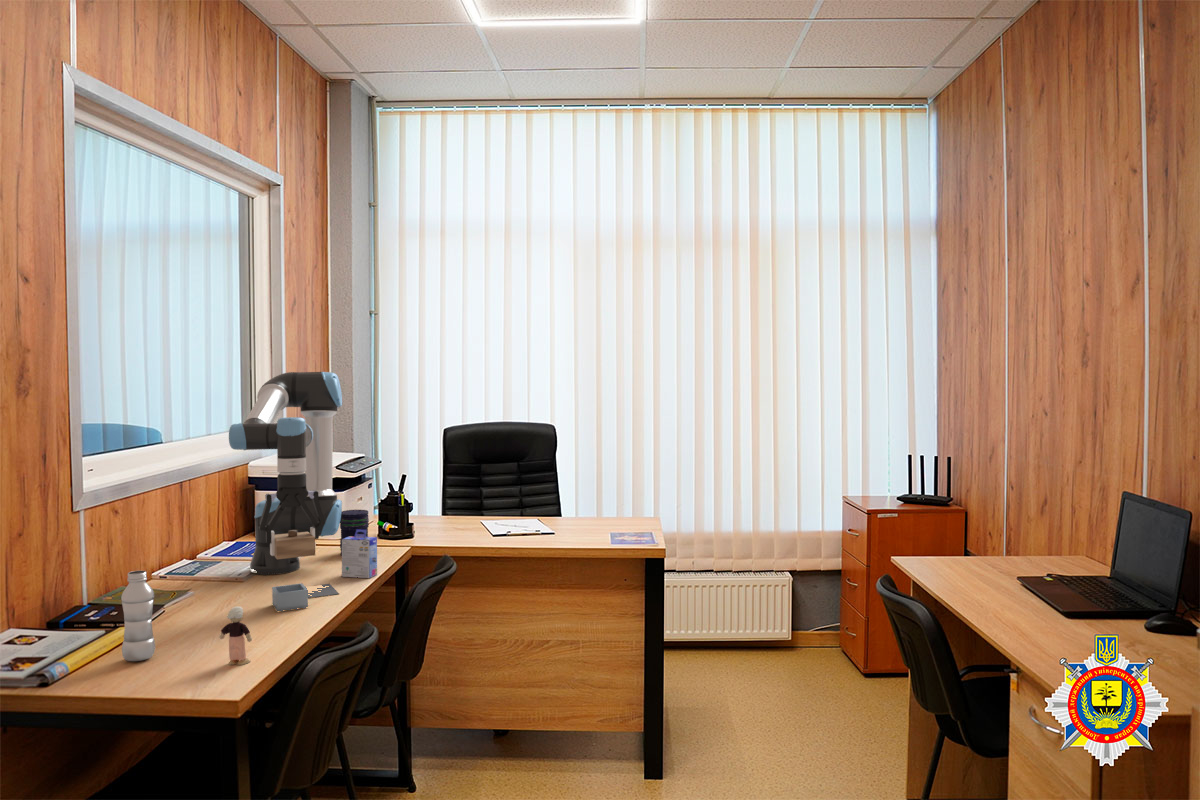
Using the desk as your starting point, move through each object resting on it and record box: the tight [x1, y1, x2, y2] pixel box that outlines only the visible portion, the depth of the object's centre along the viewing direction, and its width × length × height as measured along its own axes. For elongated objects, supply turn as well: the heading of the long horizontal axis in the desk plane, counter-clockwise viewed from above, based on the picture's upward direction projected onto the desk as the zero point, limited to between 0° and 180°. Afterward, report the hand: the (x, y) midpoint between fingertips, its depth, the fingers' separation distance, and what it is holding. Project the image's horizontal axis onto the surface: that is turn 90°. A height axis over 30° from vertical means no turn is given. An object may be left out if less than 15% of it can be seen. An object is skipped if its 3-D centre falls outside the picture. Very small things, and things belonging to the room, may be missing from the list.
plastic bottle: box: [120, 570, 156, 662], centre depth 188 cm, size 6×7×20 cm
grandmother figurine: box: [218, 606, 253, 666], centre depth 186 cm, size 8×4×13 cm, turn 92°
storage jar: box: [339, 509, 370, 556], centre depth 294 cm, size 10×10×15 cm
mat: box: [308, 582, 340, 599], centre depth 245 cm, size 13×13×1 cm
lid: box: [274, 530, 316, 559], centre depth 231 cm, size 10×10×6 cm
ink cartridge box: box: [341, 529, 378, 579], centre depth 263 cm, size 10×6×14 cm, turn 78°
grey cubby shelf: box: [271, 582, 309, 612], centre depth 230 cm, size 8×8×5 cm
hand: (292, 552), depth 231 cm, fingers closed on lid, 10 cm apart
